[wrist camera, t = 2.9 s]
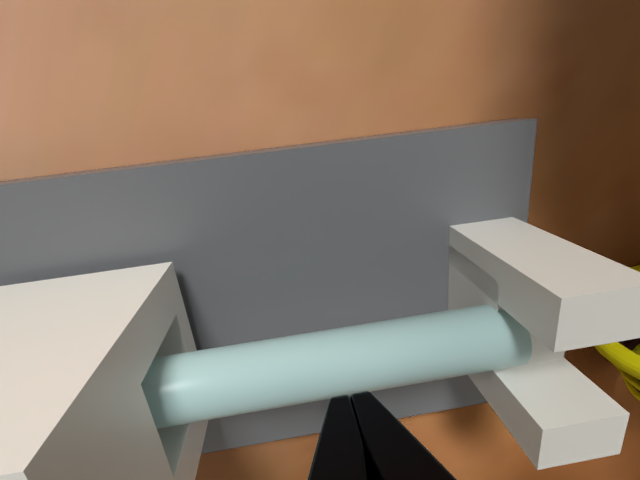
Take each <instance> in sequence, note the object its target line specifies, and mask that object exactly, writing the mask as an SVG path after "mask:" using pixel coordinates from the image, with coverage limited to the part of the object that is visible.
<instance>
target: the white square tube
mask: <svg viewBox="0 0 640 480" xmlns="http://www.w3.org/2000/svg"><path fill="white" fill-rule="evenodd" d="M191 351H197V349H196V346H195V342H194V338H193V335H192V331H191V328H190V324H189V320H188V317H187V313H186V309H185V306H184V302H183V298H182V295H181V291H180V288H179V284H178V280H177V277H176V273H175V269H174V266H173V262H167V263H160V264H153V265H146V266H139V267H132V268H125V269H118V270H111V271H104V272H97V273H90V274H83V275H76V276H69V277H62V278H55V279H48V280H40V281H33V282H26V283H19V284H12V285H5V286H0V480H195V478H196V474H197V469H198V465H199V461H200V456H201V452H202V447H203V443H204V438H205V434H206V429H207V425H208V420H205V421H199V422H193V423H188V424H182V425H176V426H170V427H165V428H159V429H157V428H156V426H155V423H154V420H153V417H152V414H151V411H150V409H149V406H148V403H147V400H146V397H145V395H144V392H143V389H142V386H141V383H142V381H143V379H144V377H145V375H146V373H147V371H148V369H149V367H150V365H151V363H152V361H153V359H154V357H160V356H166V355H173V354H179V353H185V352H191Z"/></svg>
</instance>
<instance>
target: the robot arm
mask: <svg viewBox="0 0 640 480" xmlns="http://www.w3.org/2000/svg"><path fill="white" fill-rule="evenodd" d="M308 480H456V479H455V478H454V477H453V476H452V475H451V474H450V472H449V471H448V470H447V469H446V468H445V467H444V466H443V465H442V464H441V463H440V462H439V461H438V460H437V459H436V458H435V457H434V456H433V455H432V454H431V453H430V452H429V451H428V450H427V449H426V448H425V447H424V446H423V445H422V444H421V443H420V442H419V441H418V440H417V439H416V438H415V437H414V436H413V435H412V434H411V433H410V432H409V431H408V430H407V429H406V428H405V427H404V426H403V425H402V423H401V422H400V421H399V420H398V419H397V418H396V417H395V416H394V415H393V414H392V413H391V412H390V411H389V410H388V409H387V408H386V407H385V406H384V405H383V404H382V403H381V402H380V401H379V400H378V399H377V398H376V397H375V396H374V395H373V394H372V393H371V392H370V391H362V392H357V393H352V394H351V396H349V395H347V394H345V395H339V396H334V397H331V398H330V399H329V402H328V405H327V409H326V413H325V417H324V421H323V424H322V428H321V432H320V436H319V439H318V443H317V447H316V451H315V455H314V458H313V462H312V466H311V470H310V474H309V477H308Z"/></svg>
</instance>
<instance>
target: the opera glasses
mask: <svg viewBox="0 0 640 480" xmlns="http://www.w3.org/2000/svg"><path fill="white" fill-rule="evenodd" d="M629 268H631V269H633V270H636V271H638V272H640V265H638V266H632V267H629ZM594 347H595V348H596V349H597V350H598V352H599V353H600V354H601V355H602V356H604V357H605V358H606V359H607V360H609V361H610V362H611V363H612V364H613V365H614V366H615V367H616V368H617V370H618V371H619V372H620V373H621V375H622V377H623V380H624V382H625V384H626V386H627V388H628V389H629V391H630V392H631V394H632V395H633V396H634V397H635V398H636V399H637V400H638V401H640V355H639V354H640V338H637V339H631V340H625V341H619V342H613V343H608V344H602V345H596V346H594Z"/></svg>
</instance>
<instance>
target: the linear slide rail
mask: <svg viewBox="0 0 640 480" xmlns="http://www.w3.org/2000/svg"><path fill="white" fill-rule="evenodd" d="M536 129H537V119H533V118H513V119H504V120H496V121H488V122H480V123H472V124H464V125H456V126H448V127H439V128H431V129H423V130H415V131H407V132H399V133H391V134H382V135H374V136H366V137H358V138H350V139H342V140H334V141H325V142H317V143H309V144H301V145H293V146H285V147H277V148H268V149H260V150H252V151H244V152H236V153H228V154H220V155H211V156H203V157H195V158H187V159H179V160H171V161H163V162H154V163H146V164H138V165H130V166H122V167H114V168H106V169H98V170H89V171H81V172H73V173H65V174H57V175H49V176H41V177H32V178H24V179H16V180H8V181H0V286H5V285H12V284H19V283H26V282H33V281H40V280H48V279H55V278H62V277H69V276H76V275H83V274H90V273H97V272H104V271H111V270H118V269H125V268H132V267H139V266H146V265H153V264H160V263H167V262H173V266H174V269H175V273H176V277H177V280H178V284H179V288H180V291H181V295H182V298H183V302H184V306H185V309H186V313H187V317H188V320H189V324H190V328H191V331H192V335H193V338H194V342H195V346H196V349H197V351H191V352H185V353H179V354H173V355H166V356H160V357H154V359H153V361H152V363H151V365H150V367H149V369H148V371H147V373H146V375H145V377H144V379H143V381H142V383H141V386H142V389H143V392H144V395H145V397H146V400H147V403H148V406H149V409H150V411H151V414H152V417H153V420H154V423H155V426H156V428H157V429H159V428H165V427H170V426H176V425H182V424H188V423H193V422H199V421H205V420H208V425H207V429H206V434H205V438H204V443H203V447H202V452H201V454H204V453H210V452H215V451H221V450H226V449H232V448H237V447H243V446H248V445H254V444H260V443H265V442H271V441H276V440H282V439H287V438H293V437H298V436H304V435H310V434H315V433H320V432H321V428H322V424H323V421H324V417H325V413H326V409H327V405H328V402H329V399H330V398H331V397H334V396H339V395H345V394H347V395H349V396H351V394H352V393H357V392H362V391H370V392H371V393H372V394H373V395H374V396H375V397H376V398H377V399H378V400H379V401H380V402H381V403H382V404H383V405H384V406H385V407H386V408H387V409H388V410H389V411H390V412H391V413H392V414H393V415H394V416H395V417H396V418H397V419H398V418H404V417H409V416H415V415H421V414H426V413H432V412H437V411H443V410H448V409H454V408H459V407H465V406H471V405H476V404H482V403H487V402H488V403H489V405H490V406H491V407H492V409H493V410H494V412H495V413H496V414H497V416H498V417H499V418H500V420H501V421H502V422H503V424H504V425H505V427H506V428H507V429H508V431H509V432H510V433H511V435H512V436H513V438H514V439H515V440H516V442H517V443H518V444H519V446H520V447H521V448H522V450H523V451H524V453H525V454H526V455H527V457H528V458H529V459H530V461H531V462H532V464H533V465H534V466H535V468H536V469H537V470H540V469H545V468H550V467H555V466H560V465H566V464H571V463H576V462H581V461H586V460H591V459H596V458H601V457H606V456H611V455H617V454H620V452H621V448H622V444H623V439H624V435H625V431H626V427H627V423H628V419H629V415H630V413H629V412H627V411H626V410H625V409H624V408H623V407H621V406H620V405H619V404H618V403H617V402H616V401H614V400H613V399H612V398H611V397H610V396H608V395H607V394H606V393H605V392H604V391H603V390H601V389H600V388H599V387H598V386H597V385H596V384H594V383H593V382H592V381H591V380H590V379H588V378H587V377H586V376H585V375H584V374H583V373H581V372H580V371H579V370H578V369H577V368H575V367H574V366H573V365H572V364H571V363H570V362H568V361H567V360H566V359H565V358H564V353H565V351H567V350H573V349H579V348H584V347H590V346H596V345H602V344H608V343H613V342H619V341H625V340H631V339H637V338H640V272H638V271H636V270H633V269H631V268H629V267H627V266H624V265H622V264H620V263H617V262H615V261H613V260H610V259H608V258H606V257H604V256H601V255H599V254H597V253H594V252H592V251H590V250H588V249H585V248H583V247H581V246H578V245H576V244H574V243H571V242H569V241H567V240H565V239H562V238H560V237H558V236H555V235H553V234H551V233H548V232H546V231H544V230H542V229H539V228H537V227H535V226H532V225H530V224H528V223H527V222H528V212H529V201H530V191H531V181H532V170H533V160H534V150H535V139H536Z"/></svg>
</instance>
